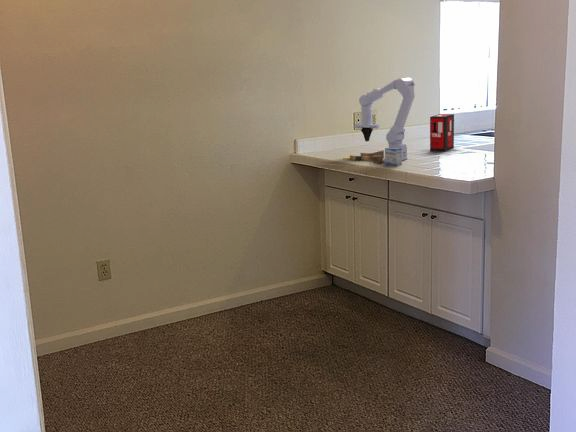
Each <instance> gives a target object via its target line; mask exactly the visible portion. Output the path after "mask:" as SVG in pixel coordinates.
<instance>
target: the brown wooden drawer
mask: <svg viewBox="0 0 576 432" xmlns="http://www.w3.org/2000/svg"><path fill="white" fill-rule="evenodd" d="M375 155H377V156H382V158H383V159H385V149H384V150H380V151H379V150H378V151H374V152H360V155H353V156H352V155H349V156H350V159H349V160H350V161H357V162H358V161H364V162H365V161H366V162H373V156H375Z"/></svg>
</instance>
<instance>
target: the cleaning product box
mask: <svg viewBox="0 0 576 432" xmlns="http://www.w3.org/2000/svg"><path fill="white" fill-rule="evenodd" d="M454 148H455V114H454V113H453V114H451V113H444V114H443V113H441V114H440V113H439V114H436V115H433V116H432V115H431V116H430V117H429V151H430V152H442V153H443V152H447V151H450V150H451V149H454Z"/></svg>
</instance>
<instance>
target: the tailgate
mask: <svg viewBox="0 0 576 432" xmlns="http://www.w3.org/2000/svg"><path fill="white" fill-rule="evenodd" d="M351 156H354V155H351ZM343 159H344V160H350V155H349V156H345V157H342V160H343Z"/></svg>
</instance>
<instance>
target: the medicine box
mask: <svg viewBox="0 0 576 432" xmlns="http://www.w3.org/2000/svg"><path fill="white" fill-rule="evenodd" d="M402 164H403V160H402V149H401V148H389V147H386V148H384V165H385V166H394V165H395V166H396V167H398V166H402Z"/></svg>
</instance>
